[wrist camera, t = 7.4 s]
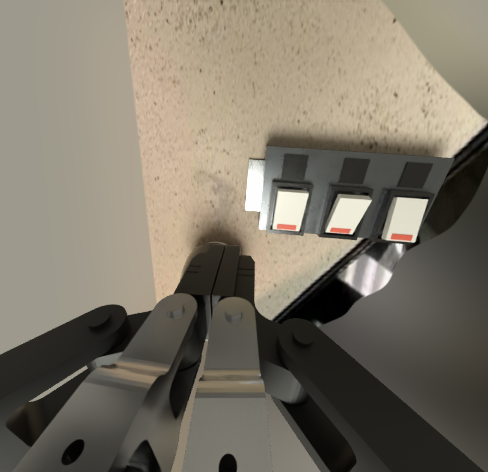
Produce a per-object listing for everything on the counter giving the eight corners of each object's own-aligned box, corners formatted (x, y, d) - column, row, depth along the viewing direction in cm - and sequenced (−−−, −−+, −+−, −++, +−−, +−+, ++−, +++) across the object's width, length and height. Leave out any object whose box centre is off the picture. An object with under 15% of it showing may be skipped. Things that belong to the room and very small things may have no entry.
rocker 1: (277, 188, 26) (278, 191, 25) (307, 190, 26) (309, 193, 25) (272, 225, 30) (272, 229, 29) (298, 227, 30) (299, 231, 29)
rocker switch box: (249, 144, 29) (248, 144, 24) (449, 158, 28) (483, 160, 23) (244, 220, 34) (243, 230, 30) (413, 233, 33) (435, 246, 29)
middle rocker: (338, 193, 26) (340, 198, 25) (369, 196, 25) (372, 200, 25) (323, 227, 30) (325, 232, 29) (350, 229, 30) (352, 234, 29)
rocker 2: (392, 196, 27) (398, 197, 26) (422, 198, 27) (428, 199, 25) (381, 238, 28) (386, 240, 27) (409, 240, 28) (415, 242, 27)
